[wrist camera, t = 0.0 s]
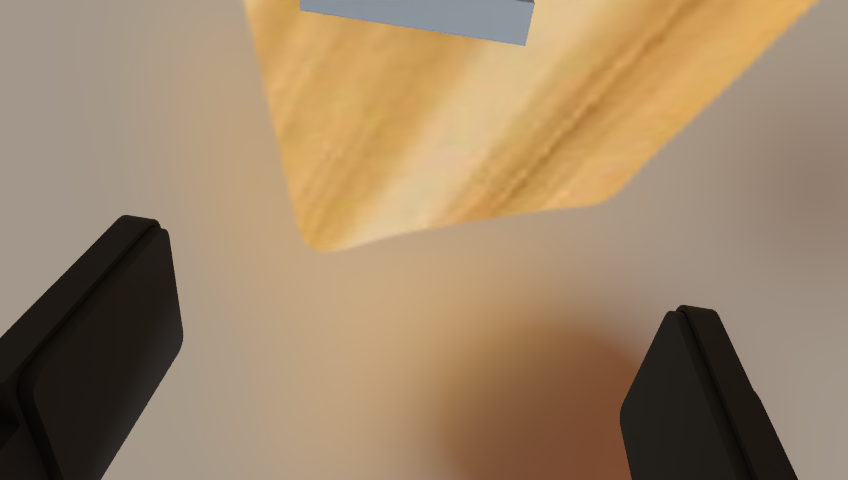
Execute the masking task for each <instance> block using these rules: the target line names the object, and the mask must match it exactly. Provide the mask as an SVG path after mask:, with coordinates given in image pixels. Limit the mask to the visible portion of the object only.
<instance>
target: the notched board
mask: <svg viewBox="0 0 848 480" xmlns="http://www.w3.org/2000/svg"><path fill="white" fill-rule="evenodd" d="M534 4H535V3H534V0H300V10H301V11H307V12H314V13H320V14H326V15H333V16H339V17H345V18H352V19H358V20H364V21H371V22H377V23H383V24H390V25H396V26H402V27H409V28H415V29H421V30H428V31H434V32H440V33H447V34H453V35H459V36H466V37H472V38H478V39H485V40H491V41H497V42H504V43H510V44H516V45H523V46H525V44H526V40H527V35H528V31H529V26H530V22H531V17H532V13H533V8H534Z"/></svg>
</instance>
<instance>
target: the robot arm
mask: <svg viewBox="0 0 848 480" xmlns="http://www.w3.org/2000/svg"><path fill="white" fill-rule="evenodd" d="M182 342H183V328H182V322H181V315H180V307H179V301H178V294H177V287H176V280H175V273H174V266H173V259H172V252H171V246H170V238H169V234H168V231H167V230H165V229H162V228H161V227H160V224H159V222H158V221H157V220H155V219H148V218H142V217H136V216H130V215H123V216H121V217H120V218H119V219H117V221H115V222H114V223H113V225H112V226H111V227H110V228H109V229H108V230H107V231H106V232H105V233H104V234H103V235H102V236H101V237H100V238H99V239H98V240H97V241H96V242H95V243H94V244H93V245H92V246H91V247H90V248H89V249H88V250H87V251H86V252H85V253H84V254H83V255H82V256H81V257H80V258H79V259H78V260H77V261H76V262H75V263H74V264H73V265H72V266H71V267H70V268H69V269H68V270H67V271H66V272H65V273H64V274H63V275H62V276H61V277H60V278H59V279H58V280H57V281H56V282H55V283H54V284H53V285H52V286H51V287H50V288H49V289H48V290H47V291H46V292H45V293H44V294H43V295H42V296H41V297H40V298H39V299H38V300H37V301H36V302H35V303H34V304H33V305H32V306H31V307H30V308H29V309H28V310H27V311H26V312H25V313H24V314H23V315H22V316H21V318H20V319H18V320H17V322H16V323H15V324H14V325H13V326H12V327H11V328H10V329H9V330H8V331H7V332H6V333H5V334H4V335H3V336H2V337H1V338H0V480H101V478H102V477H103V475H104V473H105V472H106V470H107V469H108V467H109V465H110V464H111V462H112V461H113V459H114V457H115V456H116V454H117V452H118V451H119V449H120V447H121V446H122V444H123V442H124V441H125V439H126V438H127V436H128V434H129V433H130V431H131V429H132V428H133V426H134V425H135V423H136V421H137V420H138V418H139V416H140V415H141V413H142V412H143V410H144V408H145V407H146V405H147V403H148V402H149V400H150V399H151V397H152V395H153V394H154V392H155V390H156V389H157V387H158V386H159V384H160V382H161V381H162V379H163V377H164V376H165V374H166V372H167V371H168V369H169V367H170V366H171V364H172V362H173V361H174V359H175V358H176V356H177V354H178V353H179V351H180V348H181V345H182ZM620 426H621V430H622V435H623V440H624V445H625V449H626V454H627V459H628V463H629V468H630V473H631V477H632V480H798V478H797V476H796V474H795V472H794V470H793V468H792V466H791V464H790V461H789V459H788V457H787V455H786V453H785V451H784V449H783V447H782V444H781V442H780V440H779V438H778V436H777V434H776V432H775V430H774V427H773V425H772V423H771V421H770V419H769V417H768V415H767V413H766V410H765V409H764V406H763V404H762V402H761V400H760V398H759V397H758V395H757V394H756V392H755V391H754V390H753V388H752V386H751V384H750V382H749V380H748V377H747V375H746V373H745V371H744V369H743V367H742V364H741V362H740V360H739V358H738V356H737V354H736V352H735V349H734V347H733V345H732V343H731V341H730V339H729V337H728V335H727V332H726V330H725V328H724V326H723V324H722V322H721V320H720V317H719V315H718V314H717V312H716V311H714V310H712V309H706V308H700V307H694V306H687V305H681V306H679V307H678V308H677V310H676V311H669V312H668V313H667V314H666V315H665V317H664V319H663V321H662V323H661V325H660V327H659V329H658V331H657V333H656V335H655V337H654V340H653V342H652V344H651V346H650V348H649V350H648V352H647V354H646V356H645V358H644V361H643V362H642V365H641V367H640V369H639V371H638V373H637V375H636V377H635V379H634V381H633V383H632V385H631V388H630V390H629V392H628V394H627V396H626V398H625V400H624V402H623V404H622V407H621V411H620Z"/></svg>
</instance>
